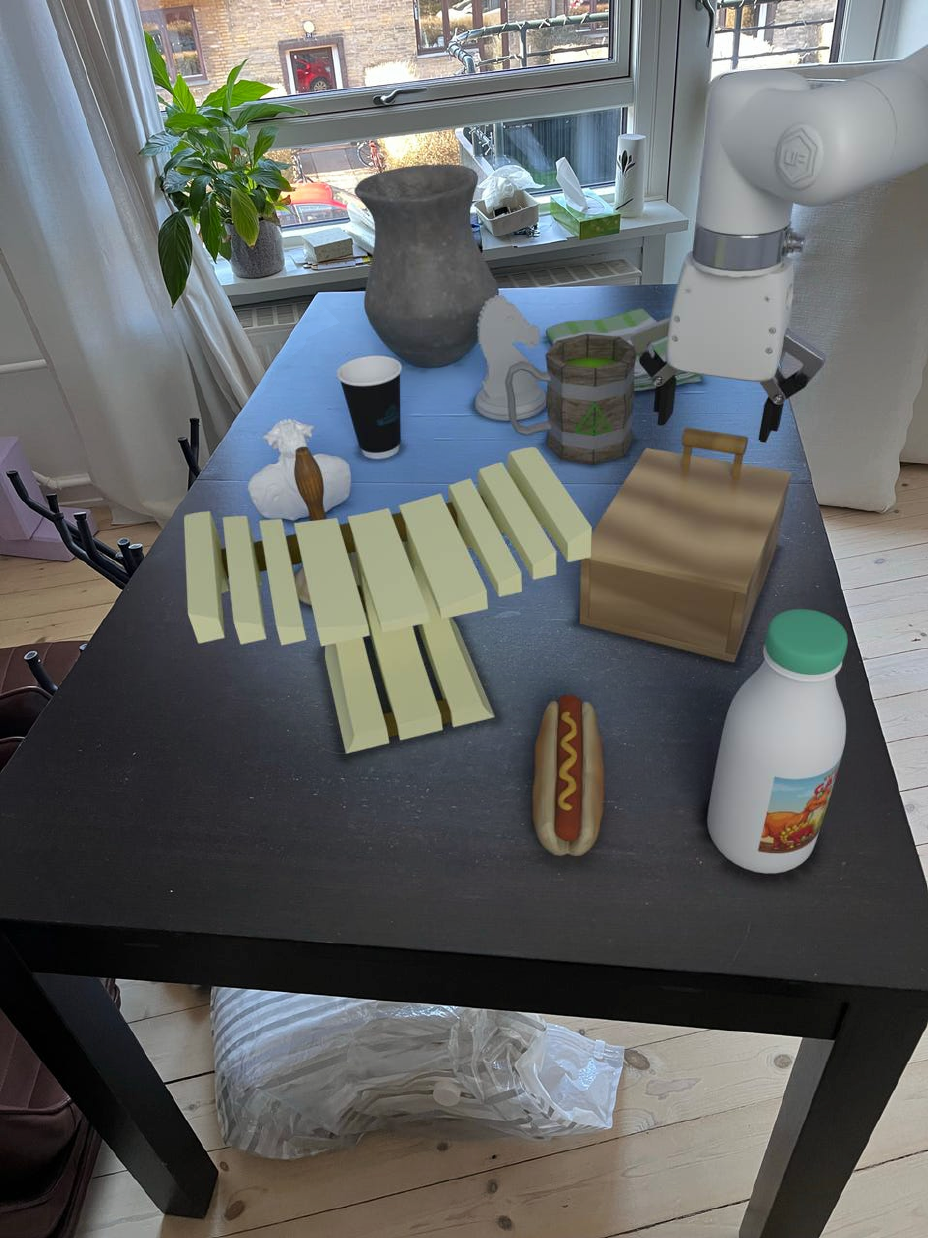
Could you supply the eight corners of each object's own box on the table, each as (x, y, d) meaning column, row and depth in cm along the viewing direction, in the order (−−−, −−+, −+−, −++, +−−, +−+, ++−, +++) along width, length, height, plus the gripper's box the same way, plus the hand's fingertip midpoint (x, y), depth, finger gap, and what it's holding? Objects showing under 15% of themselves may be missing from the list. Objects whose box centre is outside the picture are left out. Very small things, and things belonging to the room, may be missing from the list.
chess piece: (556, 413, 118) (556, 302, 108) (485, 426, 117) (478, 314, 107) (534, 383, 126) (533, 276, 116) (467, 394, 124) (460, 287, 115)
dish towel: (588, 402, 120) (589, 378, 118) (541, 338, 137) (541, 315, 135) (707, 383, 122) (710, 358, 120) (646, 321, 139) (648, 299, 137)
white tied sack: (356, 509, 108) (333, 418, 107) (362, 501, 100) (337, 403, 99) (258, 531, 105) (234, 438, 105) (256, 525, 98) (230, 425, 97)
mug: (626, 419, 115) (631, 330, 108) (638, 462, 107) (644, 368, 99) (506, 426, 116) (502, 338, 109) (508, 469, 108) (504, 377, 100)
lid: (645, 454, 93) (648, 410, 90) (790, 479, 88) (799, 433, 84) (580, 557, 80) (581, 510, 77) (746, 594, 75) (755, 545, 71)
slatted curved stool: (529, 589, 90) (525, 431, 78) (586, 694, 78) (591, 526, 66) (233, 655, 85) (183, 498, 74) (245, 778, 73) (188, 613, 62)
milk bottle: (709, 872, 64) (748, 671, 51) (702, 788, 69) (736, 588, 56) (821, 882, 62) (890, 678, 50) (805, 795, 68) (863, 592, 55)
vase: (395, 397, 125) (371, 209, 109) (357, 349, 139) (331, 176, 123) (522, 366, 130) (517, 182, 114) (473, 323, 144) (462, 153, 128)
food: (605, 871, 64) (608, 830, 61) (529, 868, 65) (528, 826, 62) (602, 729, 75) (604, 687, 71) (537, 727, 75) (536, 685, 72)
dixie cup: (358, 433, 118) (345, 354, 110) (416, 434, 116) (407, 355, 109) (343, 464, 112) (328, 383, 105) (404, 466, 110) (394, 383, 103)
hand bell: (345, 615, 89) (318, 478, 78) (277, 597, 92) (242, 462, 81) (386, 568, 94) (364, 434, 84) (320, 552, 97) (292, 421, 87)
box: (638, 520, 98) (643, 458, 93) (776, 548, 92) (789, 483, 87) (579, 623, 85) (580, 557, 80) (734, 663, 80) (746, 594, 75)
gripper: (854, 238, 73) (814, 424, 85) (651, 222, 80) (639, 396, 91) (840, 269, 69) (799, 462, 80) (625, 249, 75) (615, 430, 86)
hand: (714, 427), depth 85 cm, fingers open, 9 cm apart
